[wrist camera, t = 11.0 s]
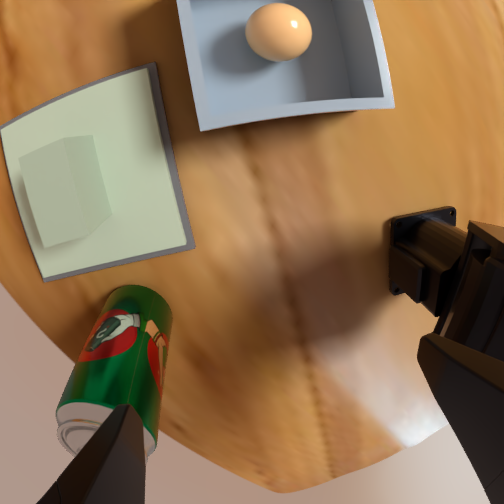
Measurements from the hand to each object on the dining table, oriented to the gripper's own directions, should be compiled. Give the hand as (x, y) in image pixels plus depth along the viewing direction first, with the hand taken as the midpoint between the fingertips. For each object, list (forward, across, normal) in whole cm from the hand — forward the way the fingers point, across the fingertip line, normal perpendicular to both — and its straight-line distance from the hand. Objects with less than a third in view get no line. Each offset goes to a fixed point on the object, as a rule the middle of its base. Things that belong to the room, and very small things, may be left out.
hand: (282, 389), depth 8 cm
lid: (+13, +9, -6) cm, 17 cm away
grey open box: (+13, -4, -12) cm, 18 cm away
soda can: (+13, +8, +4) cm, 16 cm away
